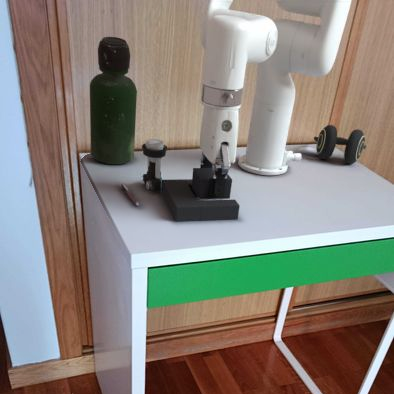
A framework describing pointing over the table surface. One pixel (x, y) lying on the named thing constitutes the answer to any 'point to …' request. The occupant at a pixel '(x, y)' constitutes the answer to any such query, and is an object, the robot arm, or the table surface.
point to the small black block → (207, 183)
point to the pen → (129, 194)
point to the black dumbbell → (330, 139)
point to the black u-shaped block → (195, 203)
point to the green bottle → (113, 104)
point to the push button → (153, 164)
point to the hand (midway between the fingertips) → (211, 189)
